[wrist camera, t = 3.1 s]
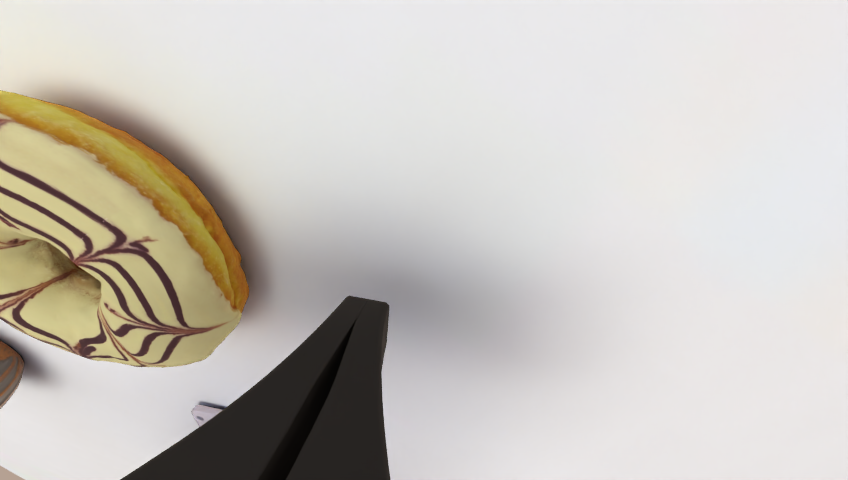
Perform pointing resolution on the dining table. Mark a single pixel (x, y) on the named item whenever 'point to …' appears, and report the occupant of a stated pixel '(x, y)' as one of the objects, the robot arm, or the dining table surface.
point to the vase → (9, 372)
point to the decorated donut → (108, 243)
